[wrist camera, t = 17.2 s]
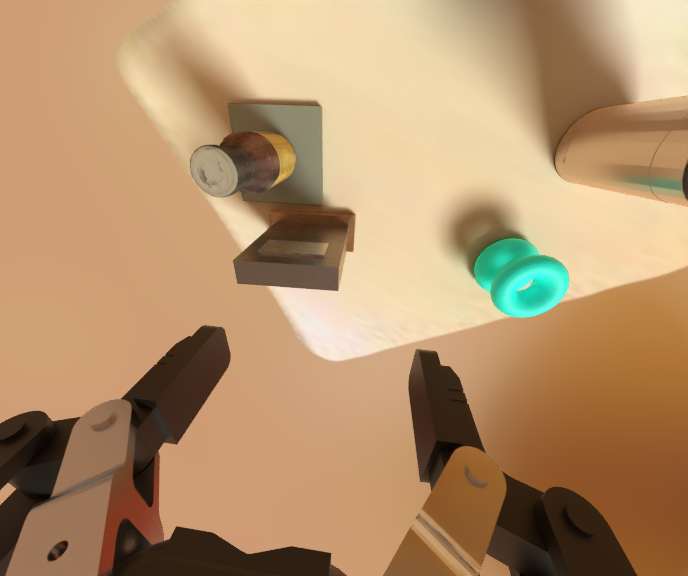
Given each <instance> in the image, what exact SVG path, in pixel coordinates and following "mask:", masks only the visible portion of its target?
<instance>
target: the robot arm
mask: <svg viewBox="0 0 688 576" xmlns="http://www.w3.org/2000/svg"><path fill="white" fill-rule="evenodd" d="M555 166H556V170H557V172H558V174H559V175H560V176H561V177H562V178H563V179H564V180H566V181H568V182H572V183H576V184H581V185H585V186H590V187H594V188H599V189H604V190H609V191H614V192H618V193H623V194H628V195H633V196H638V197H643V198H647V199H652V200H657V201H662V202H667V203H672V204H677V205H682V206H687V207H688V96H681V97H674V98H667V99H660V100H653V101H646V102H638V103H630V104H623V105H616V106H609V107H604V108H599V109H596V110H594V111H591V112H589V113H587V114H586V115H584V116H582V117H581V118H580V119H579V120H577V121H576V122H575V123H574V124H573V125H572V126H571V127H570V128H569V129H568V130H567V132H566V133H565V134H564V136H563V137H562V139H561V141H560V143H559V145H558V148H557V151H556V155H555ZM229 363H230V350H229V346H228V342H227V338H226V334H225V330H224V329H223V328H222V327H215V326H206V325H204V326H202V327H200V329H198V330H197V331H196V333H195V334H194V335H193V336H192V337H191V336H188V337H187V338H185V339H183V340H182V341H180V342H178V343H177V344H175V345H174V346H173V347H172V348H171V349H170V350H169V351H168V352H167V353H166V356H163V357H162V358H161V359H160V360H159V361H158V362H157V365H154V367H152V368H151V369H150V370H149V371H148V372H147V373H146V375H144V377H142V378H141V379H140V381H138V382H137V383H136V384H135V385H134V386H133V387H132V388H131V390H129V391H128V393H126V394H125V395H124V396H123V397H122V398H121V399H116V400H111V401H107V402H104V403H102V404H100V405H98V406H96V407H94V408H92V409H91V410H89V411H88V412H87V413H85V414H84V415H83V416H82V417H77V418H71V419H65V420H58V421H52V420H51V419H50V418H49V417H48V416H47V414H46V413H44V412H42V411H31V412H27V413H23V414H20V415H17V416H14V417H12V418H10V419H8V420H6V421H4V422H2V423H1V424H0V490H1V489H2V488H3V487H4V486H5V485H6V484H7V483H10V484H11V485H12V486H13V487H15V488H16V490H15V491H14V492H13V493H12V494H11V495H10V496H9V497H8V498H7V499H6V500H5V501H4V502H3V503H2V504H1V505H0V576H346V575H345V574H344V573H343V572H342V571H341V570H339V569H338V568H336V567H335V566H333V565H331V553H327V552H321V551H315V550H310V549H304V548H298V547H292V546H291V547H286V548H281V549H275V550H270V551H265V552H259V553H254V554H246V553H244V552H242V551H240V550H239V549H237V548H236V547H234V546H233V545H231V544H230V543H228V542H227V541H225V540H223V539H222V538H220V537H219V536H217V535H216V534H214V533H211V532H206V531H200V530H194V529H188V528H182V527H176V528H175V530H174V532H173V534H172V536H171V538H170V539H168V540H165V541H164V533H163V527H162V523H161V520H160V516H159V463H160V461H159V460H160V456H159V452H158V450H159V449H160V447H161V446H162V444H163V443H171V444H178V442H179V441H180V439H181V438H182V436H183V434H184V433H185V432H186V430H187V429H188V427H189V425H190V424H191V422H192V421H193V419H194V418H195V416H196V415H197V413H198V412H199V410H200V409H201V407H202V406H203V404H204V403H205V401H206V400H207V398H208V397H209V395H210V394H211V392H212V391H213V389H214V388H215V386H216V385H217V383H218V382H219V380H220V379H221V377H222V376H223V374H224V372H225V371H226V370H227V368H228V366H229ZM409 397H410V405H411V413H412V421H413V429H414V435H415V436H414V437H415V444H416V452H417V459H418V468H419V476H420V482H427V483H430V486H431V493H430V495H429V497H428V499H427V500H426V502H425V504H424V506H423V508H422V509H421V511H420V513H419V515H418V516H417V517H416V519H415V520H414V522H413V523H412V525H411V527H410V529H409V530H408V532H407V534H406V536H405V538H404V540H403V541H402V543H401V545H400V546H399V549H398V550H397V552H396V554H395V555H394V557H393V559H392V561H391V563H390V565H389V566H388V568H387V570H386V571H385V573H384V575H383V576H480V570H481V567H482V564H483V561H484V558H485V555H486V554H488V555H490V556H491V557H493V558H495V559H497V560H498V561H500V562H502V563H503V564H505V565H507V566H509V570H510V573H511V576H637V574H636V573H635V571H634V569H633V567H632V565H631V564H630V562H629V560H628V559H627V556H626V555H625V553H624V551H623V549H622V547H621V546H620V544H619V542H618V540H617V539H616V537H615V535H614V533H613V532H612V530H611V528H610V526H609V525H608V523H607V521H606V520H605V519H604V517H603V516H602V515H601V514H600V513H599V511H598V510H597V509H596V508H595V507H594V506H593V505H591V503H589V502H588V501H587V500H586V499H584V498H583V497H581V496H580V495H578V494H577V493H575V492H573V491H571V490H569V489H566V488H562V487H552V488H549V489H548V490H547V491H546V492H545V493H543V492H541V491H539V490H537V489H535V488H533V487H530V486H528V485H526V484H524V483H522V482H520V481H517V480H515V479H514V478H512V477H510V476H508V475H507V474H505V473H504V472H503V471H501V469H500V468H499V466H498V465H497V463H496V462H495V461H494V460H493V459H492V458H491V457H490V456H489V455H487V454H486V452H485V450H484V448H483V445H482V443H481V440H480V437H479V434H478V431H477V428H476V425H475V422H474V419H473V417H472V414H471V411H470V408H469V405H468V404H467V399H466V397H465V394H464V393H463V388H462V385H461V382H460V379H459V377H458V376H457V375H456V373H455V372H454V371H453V370H452V369H451V367H449V366H441V364H440V361H439V357H438V354H437V352H436V351H428V350H419V349H417V350H416V352H415V355H414V359H413V363H412V367H411V371H410V375H409Z"/></svg>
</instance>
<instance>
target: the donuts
mask: <svg viewBox="0 0 688 576" xmlns="http://www.w3.org/2000/svg"><path fill="white" fill-rule="evenodd" d="M505 265H506V266H505ZM474 276H475V279H476V281H477V283H478V284H479V285H480V286H481V287H482V288H483V289H485V290H487V291H489V292H490V294H491V299H492V301H493V303H494V305H495V306H496V307H497V308H498V309H499V310H500V311H501V312H503V313H505V314H507V315H510V316H514V317H531V316H535V315H538V314H541V313H544V312H546V311H548V310H549V309H551V308H552V307H554V306H555V305H556V304H557V303H558V302H559V301H560V300H561V299H562V298H563V297H564V295H565V293H566V292H567V289H568V286H569V275H568V272H567V270H566V268H565V266H564V265H563V264H562V263H561V262H559V261H558V260H556V259H554V258H552V257H549V256H545V255H539V253H538V251H537V249H536V248H535V247H534V246H533V245H532V244H531V243H529V242H528V241H526V240H523V239H518V238H508V239H503V240H500V241H497V242H495V243H493V244H491V245H490V246H488V247H487V248H486V249H484V250H483V251H482V253H481V254H480V255H479V257H478V258H477V260H476V263H475V266H474ZM532 279H533V282H532V284H531V285H530V286H529V287H528V288H527V289H524V290H521V291H517V290H519V289H521V288H523V287H524V286H526V285H527V284H528V283H529V282H530V281H531V280H532Z"/></svg>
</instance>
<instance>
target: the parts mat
mask: <svg viewBox="0 0 688 576" xmlns="http://www.w3.org/2000/svg"><path fill="white" fill-rule="evenodd" d="M228 108H229V114H230V121H231V127H232V133H236V132H247V131H249V132H269V133H276V134H279V135H281V136H283V137H284V138H286V139H287V140H288V141H289V142H290V143H291V144H292V145H293V147H294V151H295V154H296V166H295V168H294V171H293V173H292V174H291V175H290V176H289V177H288V178H287V179H285V180H284V181H282V182H280V183H278V184H277V185H275V186H273V187H271V188H270V189H268V190H266V191H264V192H262V193H259V194H247V193H244V192H242V197H243V201H261V202H279V203H297V204H315V205H322V204H323V176H322V107H321V106H297V105H268V104H239V103H228Z"/></svg>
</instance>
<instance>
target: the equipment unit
mask: <svg viewBox="0 0 688 576" xmlns="http://www.w3.org/2000/svg"><path fill="white" fill-rule="evenodd" d="M270 217H271V227H270V228H269V229H268V230H267V231H266V232H264V233H263V234H262V235H261V236H260V237H259V238H258V239H256V240H255V241H254V242H253V243H252V244H251V245H250V246H249V247H247V248H246V249H245V250H244V251H243V252H242V253H241V254H240V255H238V256H237V257H236V258H235V259H234V260H233V263H234V268H235V273H236V278H237V283H238V284H252V285H265V286H279V287H292V288H306V289H320V290H333V291H338V289H339V284H340V279H341V274H342V269H343V264H344V259H345V254H346V251H349V252H353V249H354V233H355V215H353V214H336V213H318V212H300V211H283V210H272V211H271V212H270Z"/></svg>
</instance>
